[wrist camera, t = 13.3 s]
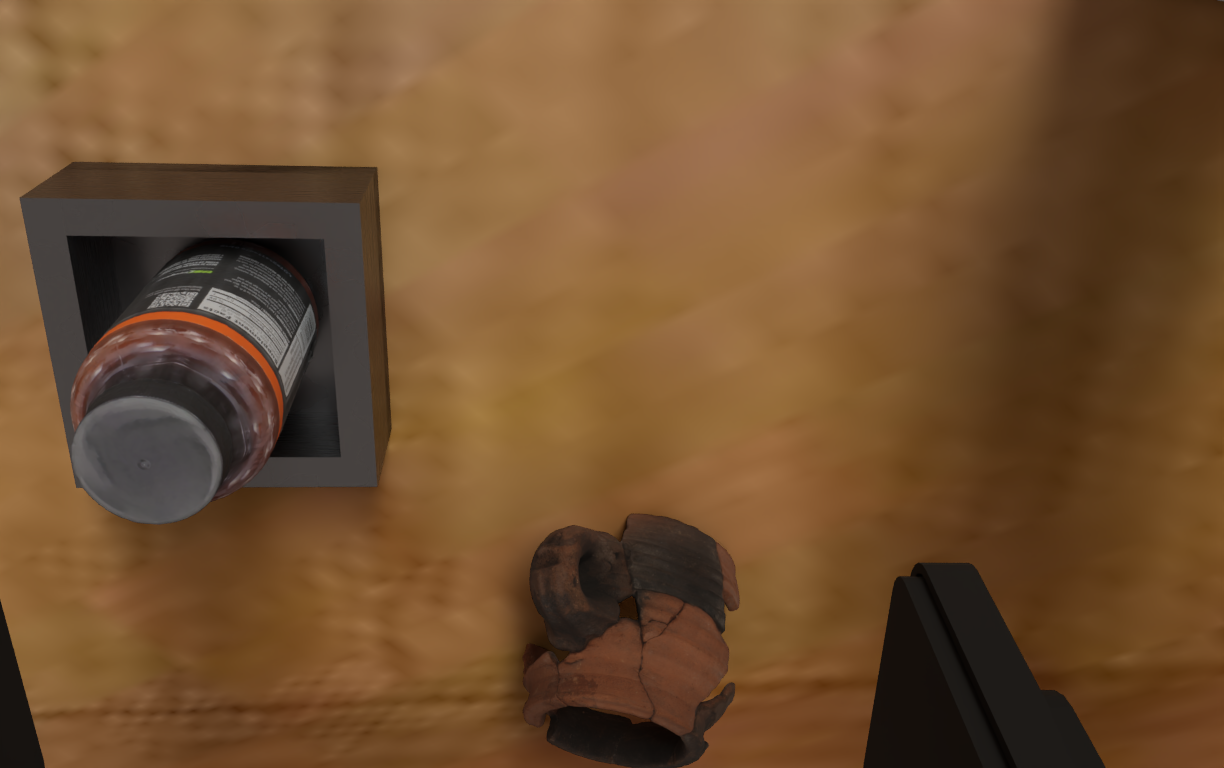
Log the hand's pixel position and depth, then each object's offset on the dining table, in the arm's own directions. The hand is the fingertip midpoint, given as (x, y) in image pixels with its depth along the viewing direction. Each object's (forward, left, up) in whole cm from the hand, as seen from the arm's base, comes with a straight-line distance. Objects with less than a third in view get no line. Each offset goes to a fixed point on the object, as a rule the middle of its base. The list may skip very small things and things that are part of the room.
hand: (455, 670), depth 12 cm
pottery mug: (+21, +5, -30) cm, 37 cm away
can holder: (+8, -10, -30) cm, 32 cm away
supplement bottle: (+8, -10, -29) cm, 32 cm away
